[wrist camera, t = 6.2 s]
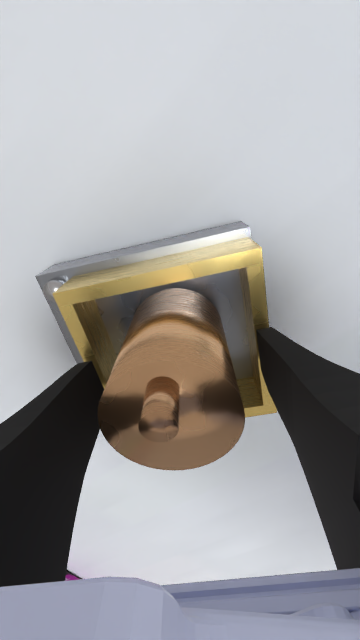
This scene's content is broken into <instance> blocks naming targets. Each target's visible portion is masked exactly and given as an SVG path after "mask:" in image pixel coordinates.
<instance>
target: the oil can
mask: <svg viewBox="0 0 360 640" xmlns="http://www.w3.org/2000/svg"><path fill="white" fill-rule="evenodd" d="M98 423H99V426H100V429H101V431H102V433H103V435H104V437H105V439H106V440H107V441H108V443H109V444H110V445H111V446H112V447H113V448H114V449H115V450H116V451H117V452H119V453H120V454H121V455H123V456H124V457H126V458H128V459H130V460H131V461H133V462H136V463H138V464H141V465H144V466H147V467H151V468H155V469H162V470H186V469H193V468H197V467H201V466H204V465H207V464H209V463H211V462H214V461H216V460H217V459H219V458H221V457H222V456H224V455H225V454H226V453H228V452H229V451H230V450H231V449H232V448H233V447H234V445H235V444H236V443H237V442H238V440H239V438H240V436H241V434H242V432H243V429H244V424H245V412H244V407H243V403H242V399H241V395H240V391H239V387H238V383H237V379H236V376H235V372H234V368H233V364H232V360H231V356H230V352H229V348H228V345H227V341H226V337H225V333H224V329H223V325H222V321H221V318H220V315H219V313H218V311H217V309H216V308H215V306H214V305H213V304H212V303H211V302H210V301H209V300H208V299H207V298H205V297H204V296H202V295H201V294H199V293H196V292H194V291H191V290H187V289H181V288H173V289H166V290H162V291H159V292H156V293H154V294H152V295H151V296H149V297H148V298H146V299H145V300H144V301H143V302H142V303H141V304H140V306H139V307H138V309H137V310H136V312H135V315H134V317H133V320H132V322H131V325H130V327H129V329H128V332H127V334H126V337H125V339H124V342H123V344H122V347H121V349H120V352H119V354H118V357H117V359H116V362H115V364H114V367H113V369H112V372H111V374H110V377H109V379H108V381H107V384H106V386H105V389H104V391H103V394H102V396H101V399H100V401H99V406H98Z"/></svg>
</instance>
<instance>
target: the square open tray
mask: <svg viewBox="0 0 360 640" xmlns="http://www.w3.org/2000/svg"><path fill="white" fill-rule="evenodd" d="M35 277H36V279H37V281H38V283H39V285H40V287H41V289H42V291H43V294H44V296H45V298H46V300H47V302H48V304H49V306H50V308H51V310H52V312H53V314H54V316H55V319H56V321H57V323H58V325H59V327H60V329H61V331H62V333H63V335H64V337H65V339H66V342H67V344H68V346H69V348H70V350H71V352H72V354H73V356H74V358H75V360H76V362H77V364H78V363H82V362H87V361H92V363H93V365H94V367H95V369H96V372H97V374H98V376H99V378H100V381H101V383H102V385H103V387H104V389H105V386H106V384H107V381H108V379H109V377H110V374H111V372H112V369H113V367H114V364H115V362H116V359H117V357H118V354H119V352H120V349H121V347H122V344H123V342H124V339H125V337H126V334H127V332H128V329H129V327H130V325H131V322H132V320H133V317H134V315H135V312H136V310H137V309H138V307H139V306H140V304H141V303H142V302H143V301H144V300H145V299H146V298H148V297H149V296H151V295H152V294H154V293H156V292H159V291H162V290H166V289H173V288H181V289H187V290H191V291H194V292H196V293H199V294H201V295H202V296H204V297H205V298H207V299H208V300H209V301H210V302H211V303H212V304H213V305H214V306H215V308H216V309H217V311H218V313H219V315H220V318H221V321H222V325H223V329H224V333H225V337H226V341H227V345H228V348H229V352H230V356H231V360H232V364H233V368H234V372H235V376H236V379H237V383H238V387H239V391H240V395H241V399H242V403H243V407H244V412H245V417H251V416H258V415H264V414H271V413H277V408H276V406H275V404H274V402H273V400H272V398H271V396H270V394H269V392H268V389H267V386H266V383H265V381H264V378H263V374H262V371H261V366H260V358H259V349H258V341H257V332H256V330H258V329H263V328H269V322H268V312H267V301H266V290H265V280H264V269H263V258H262V248H261V247H260V246H259V245H258V244H257V243H255V242H254V241H253V240H252V239H251V232H250V227H249V226H248V225H246V224H245V223H243V222H242V221H240V222H236V223H231V224H227V225H223V226H219V227H214V228H210V229H206V230H201V231H197V232H193V233H188V234H184V235H180V236H176V237H171V238H167V239H163V240H158V241H154V242H150V243H146V244H141V245H137V246H133V247H128V248H124V249H120V250H115V251H111V252H107V253H103V254H98V255H94V256H90V257H85V258H81V259H77V260H73V261H68V262H64V263H60V264H55V265H53V266H51V267H49V268H48V269H46V270H45V271H43V272H41V273H40V274H38V275H37V276H35Z"/></svg>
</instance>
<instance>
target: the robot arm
mask: <svg viewBox="0 0 360 640" xmlns="http://www.w3.org/2000/svg"><path fill="white" fill-rule="evenodd" d="M256 332H257V341H258V349H259V358H260V366H261V371H262V374H263V378H264V381H265V383H266V386H267V389H268V392H269V394H270V396H271V398H272V400H273V402H274V404H275V406H276V408H277V410H278V412H279V415H280V417H281V419H282V421H283V423H284V425H285V427H286V429H287V431H288V433H289V435H290V437H291V440H292V442H293V444H294V446H295V449H296V452H297V454H298V457H299V460H300V462H301V465H302V468H303V471H304V473H305V476H306V479H307V482H308V484H309V487H310V490H311V493H312V496H313V499H314V501H315V504H316V507H317V510H318V513H319V516H320V519H321V522H322V525H323V528H324V531H325V533H326V536H327V539H328V542H329V545H330V549H331V552H332V555H333V558H334V561H335V564H336V567H337V570H332V571H320V572H309V573H297V574H286V575H275V576H263V577H252V578H240V579H229V580H218V581H206V582H195V583H183V584H172V585H158V584H155V583H152V582H148V581H145V580H142V579H138V578H127V577H102V578H91V579H81V580H70V581H65V578H66V570H67V563H68V557H69V551H70V544H71V538H72V532H73V527H74V522H75V517H76V512H77V507H78V502H79V497H80V493H81V488H82V484H83V480H84V476H85V472H86V469H87V465H88V462H89V459H90V457H91V454H92V451H93V448H94V445H95V442H96V439H97V436H98V433H99V430H100V426H99V423H98V406H99V401H100V399H101V396H102V394H103V391H104V387H103V385H102V383H101V381H100V378H99V376H98V374H97V372H96V369H95V367H94V365H93V363H92V361H87V362H82V363H78V364H77V365H75V366H74V367H72V368H71V369H70V370H69V371H67V372H66V373H65V374H64V375H62V376H61V377H60V378H59V379H58V380H56V381H55V382H54V383H53V384H52V385H50V386H49V387H48V388H47V389H46V390H44V391H43V392H42V393H41V394H40V395H38V396H37V397H36V398H34V399H33V400H32V401H31V402H29V403H28V404H27V405H26V406H24V407H23V408H22V409H20V410H19V411H18V412H16V413H15V414H14V415H12V416H11V417H10V418H8V419H7V420H5V421H4V422H2V423H1V424H0V640H360V374H359V373H356V372H354V371H351V370H349V369H346V368H344V367H342V366H339V365H337V364H335V363H332V362H330V361H328V360H326V359H324V358H322V357H320V356H318V355H316V354H314V353H312V352H311V351H309V350H307V349H305V348H304V347H302V346H300V345H299V344H297V343H295V342H294V341H292V340H290V339H289V338H287V337H286V336H284V335H283V334H281V333H280V332H278V331H277V330H275V329H274V328H272V327H269V328H263V329H258V330H256Z"/></svg>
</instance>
